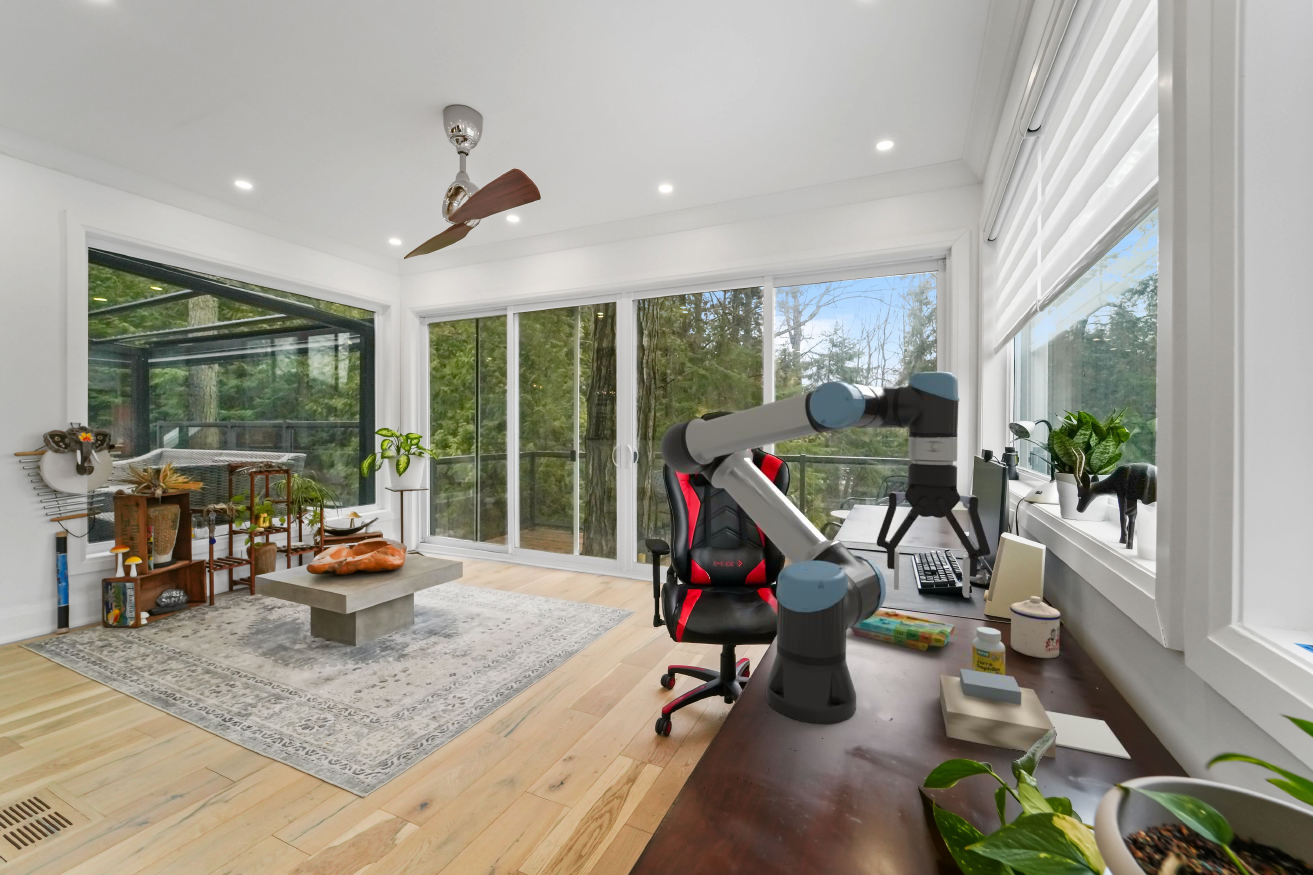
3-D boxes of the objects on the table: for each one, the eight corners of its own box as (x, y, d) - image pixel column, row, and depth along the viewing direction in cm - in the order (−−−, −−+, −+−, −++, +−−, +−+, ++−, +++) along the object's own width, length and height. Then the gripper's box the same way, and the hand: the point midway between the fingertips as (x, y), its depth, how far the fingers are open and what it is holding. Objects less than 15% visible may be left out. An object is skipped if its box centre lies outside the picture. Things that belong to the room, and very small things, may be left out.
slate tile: (963, 694, 91) (964, 682, 91) (959, 679, 97) (960, 668, 97) (1021, 704, 88) (1021, 692, 88) (1013, 688, 94) (1013, 676, 94)
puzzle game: (864, 603, 138) (954, 621, 126) (864, 622, 138) (954, 641, 126) (848, 616, 129) (944, 636, 116) (848, 636, 129) (944, 658, 117)
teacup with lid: (1056, 663, 114) (1057, 606, 114) (1004, 650, 120) (1005, 597, 120) (1065, 646, 122) (1066, 594, 122) (1017, 636, 129) (1018, 585, 129)
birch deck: (946, 736, 86) (947, 710, 86) (939, 696, 99) (940, 674, 99) (1055, 757, 81) (1055, 730, 81) (1032, 712, 94) (1033, 689, 94)
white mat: (1050, 744, 84) (1050, 742, 84) (1033, 710, 94) (1033, 708, 94) (1130, 759, 81) (1130, 757, 81) (1104, 722, 91) (1104, 720, 91)
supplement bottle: (1004, 678, 107) (1005, 628, 107) (1005, 689, 102) (1006, 637, 102) (972, 672, 109) (972, 623, 109) (971, 682, 105) (972, 632, 105)
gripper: (861, 461, 97) (859, 589, 97) (1014, 466, 88) (1011, 606, 88) (863, 459, 103) (861, 578, 104) (1005, 463, 95) (1002, 593, 95)
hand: (930, 591), depth 96 cm, fingers open, 10 cm apart
